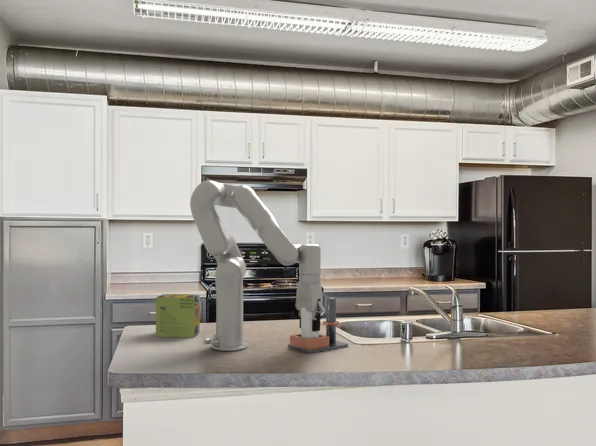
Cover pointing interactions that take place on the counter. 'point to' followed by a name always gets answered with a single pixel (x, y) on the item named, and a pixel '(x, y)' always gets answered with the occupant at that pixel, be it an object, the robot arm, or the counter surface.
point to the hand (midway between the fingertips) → (309, 328)
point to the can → (307, 325)
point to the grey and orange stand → (322, 341)
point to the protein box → (177, 315)
